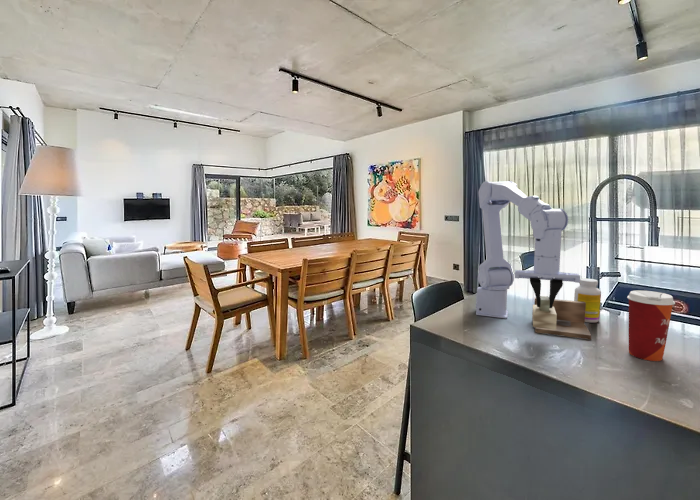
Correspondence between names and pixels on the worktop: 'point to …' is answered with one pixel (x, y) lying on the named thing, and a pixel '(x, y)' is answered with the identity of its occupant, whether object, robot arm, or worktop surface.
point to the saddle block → (544, 315)
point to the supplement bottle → (589, 298)
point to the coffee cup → (649, 323)
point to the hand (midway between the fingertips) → (544, 306)
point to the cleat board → (568, 331)
